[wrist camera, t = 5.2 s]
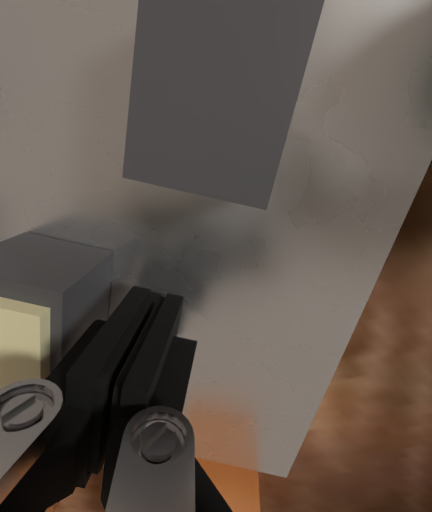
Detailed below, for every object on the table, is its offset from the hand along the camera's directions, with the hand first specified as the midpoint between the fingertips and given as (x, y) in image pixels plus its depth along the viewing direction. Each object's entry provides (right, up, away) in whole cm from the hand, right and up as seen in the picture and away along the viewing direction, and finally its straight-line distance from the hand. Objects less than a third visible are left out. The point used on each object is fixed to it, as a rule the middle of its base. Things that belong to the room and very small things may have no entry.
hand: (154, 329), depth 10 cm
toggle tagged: (-3, +1, +1) cm, 4 cm away
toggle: (+2, +7, -2) cm, 7 cm away
